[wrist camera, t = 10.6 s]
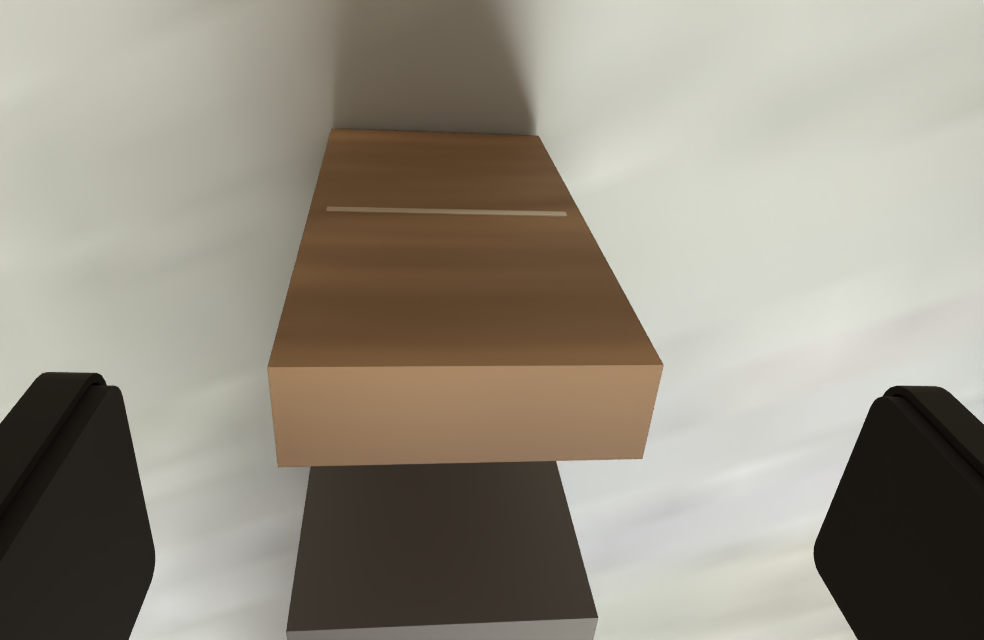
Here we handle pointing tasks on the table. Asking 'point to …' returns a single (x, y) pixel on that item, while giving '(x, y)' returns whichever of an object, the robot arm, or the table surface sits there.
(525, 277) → the domino
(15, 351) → the table surface
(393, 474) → the domino
